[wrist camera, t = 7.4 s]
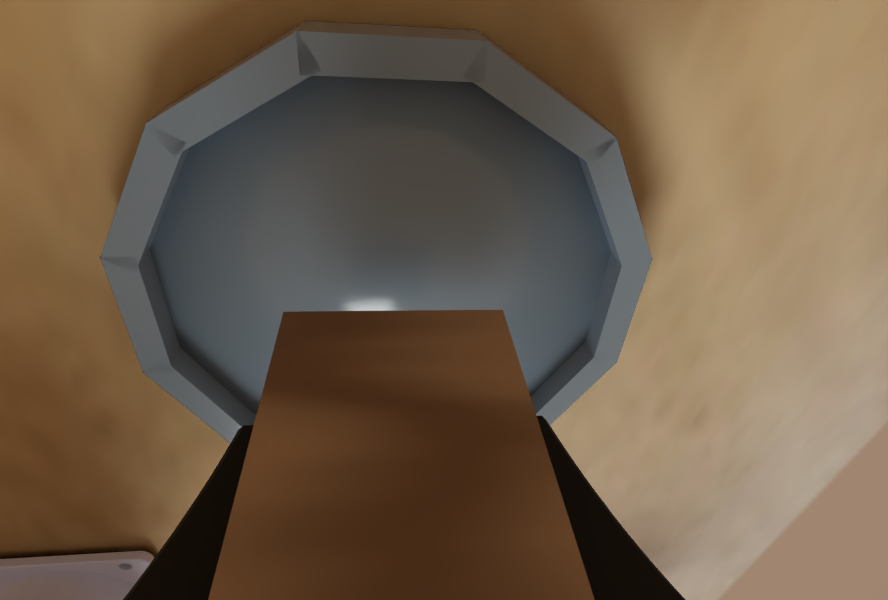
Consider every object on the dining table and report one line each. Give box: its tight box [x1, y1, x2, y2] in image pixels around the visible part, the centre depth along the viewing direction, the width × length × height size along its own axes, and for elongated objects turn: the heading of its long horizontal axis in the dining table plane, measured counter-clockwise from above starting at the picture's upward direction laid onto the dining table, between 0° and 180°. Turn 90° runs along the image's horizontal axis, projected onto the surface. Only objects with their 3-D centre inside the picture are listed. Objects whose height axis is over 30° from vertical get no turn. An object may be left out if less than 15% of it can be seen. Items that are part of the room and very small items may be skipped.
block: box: [208, 310, 595, 600], centre depth 10 cm, size 5×5×6 cm
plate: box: [100, 20, 652, 443], centre depth 15 cm, size 14×14×1 cm
